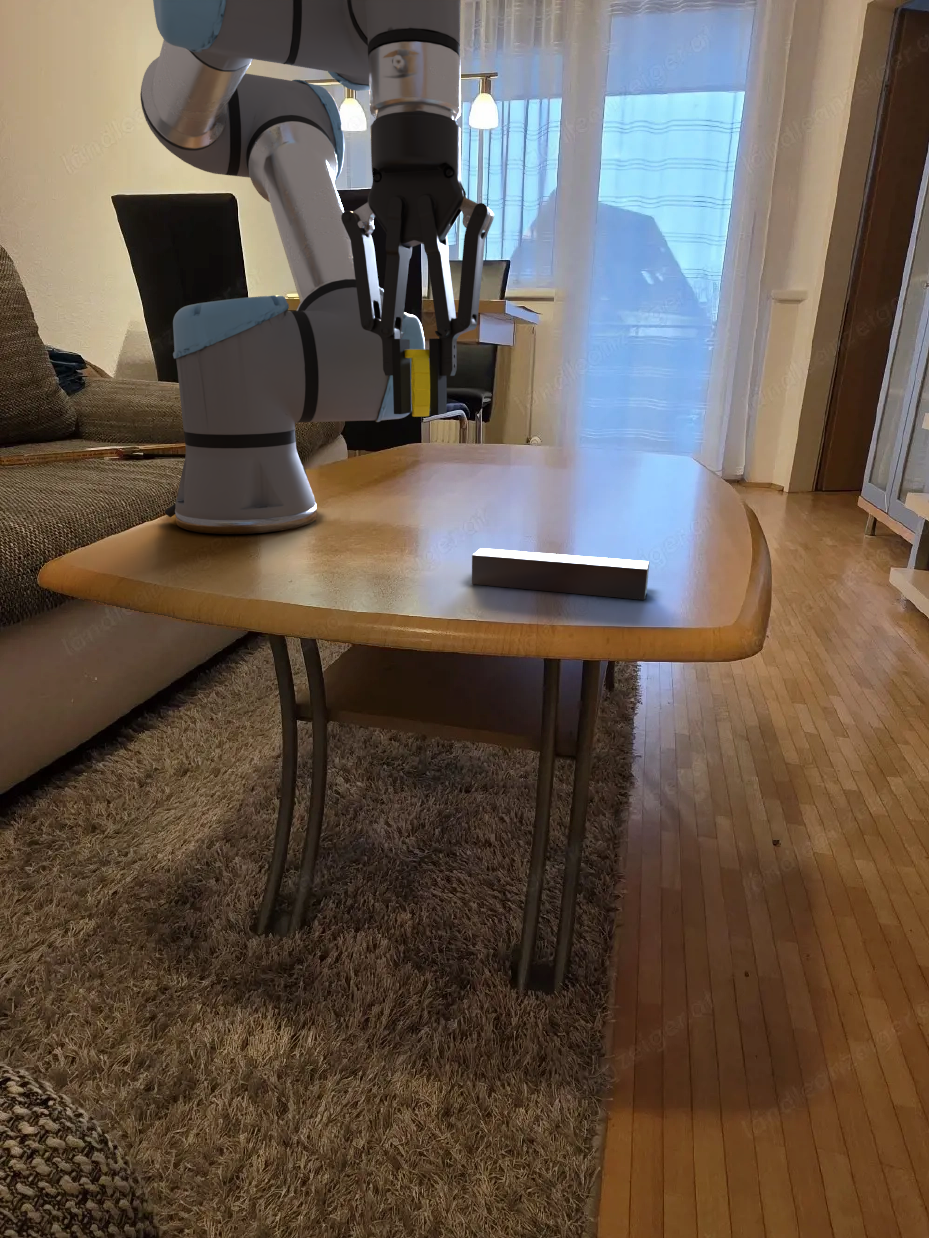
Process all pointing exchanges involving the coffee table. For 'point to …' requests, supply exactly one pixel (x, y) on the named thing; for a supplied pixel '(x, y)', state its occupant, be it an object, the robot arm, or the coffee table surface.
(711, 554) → the coffee table surface
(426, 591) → the coffee table surface
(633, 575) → the walnut stick
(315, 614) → the coffee table surface
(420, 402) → the yellow capped peg
